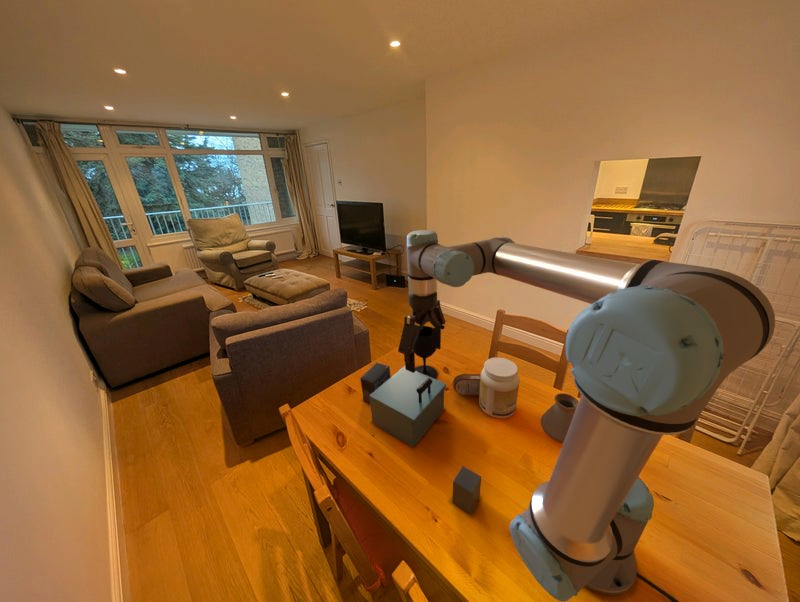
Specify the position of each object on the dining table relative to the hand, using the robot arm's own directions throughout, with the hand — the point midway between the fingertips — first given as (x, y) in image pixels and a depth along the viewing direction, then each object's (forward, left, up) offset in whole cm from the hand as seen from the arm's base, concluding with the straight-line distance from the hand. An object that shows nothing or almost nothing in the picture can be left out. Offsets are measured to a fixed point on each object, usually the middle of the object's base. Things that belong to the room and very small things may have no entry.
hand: (423, 358), depth 85 cm
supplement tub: (-16, -21, -26) cm, 37 cm away
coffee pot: (-40, -22, -26) cm, 53 cm away
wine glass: (+15, -22, -26) cm, 37 cm away
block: (-21, +14, -26) cm, 37 cm away
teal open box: (+7, 0, -26) cm, 27 cm away
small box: (+23, -2, -26) cm, 35 cm away
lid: (+6, 0, -15) cm, 17 cm away
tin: (-7, -22, -26) cm, 35 cm away
